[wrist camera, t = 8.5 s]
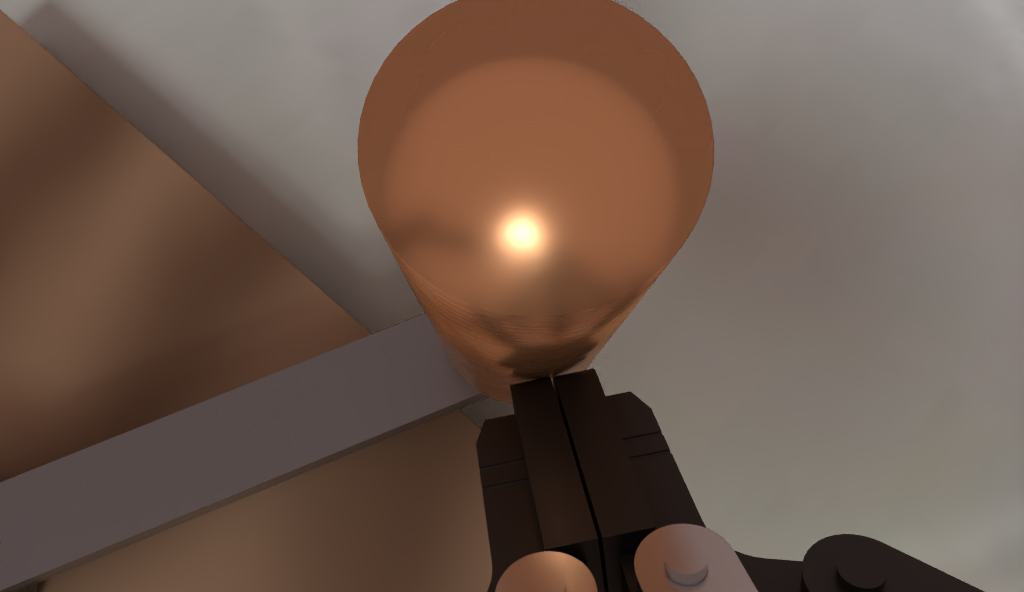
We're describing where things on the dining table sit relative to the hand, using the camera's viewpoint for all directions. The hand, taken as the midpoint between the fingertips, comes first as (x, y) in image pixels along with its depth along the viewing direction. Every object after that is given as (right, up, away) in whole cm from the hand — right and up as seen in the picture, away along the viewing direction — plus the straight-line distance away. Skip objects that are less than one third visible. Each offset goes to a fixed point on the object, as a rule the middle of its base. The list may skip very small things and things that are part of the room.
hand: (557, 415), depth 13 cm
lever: (-8, -2, +5) cm, 10 cm away
